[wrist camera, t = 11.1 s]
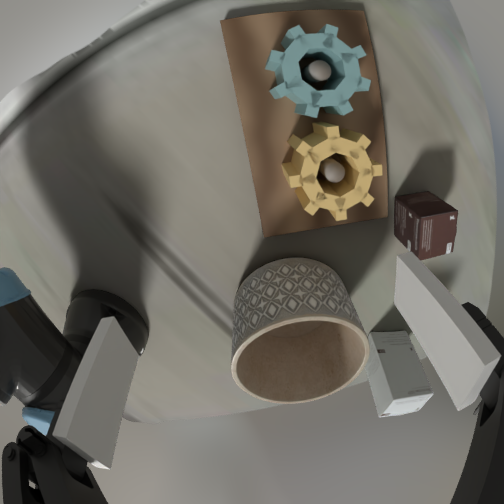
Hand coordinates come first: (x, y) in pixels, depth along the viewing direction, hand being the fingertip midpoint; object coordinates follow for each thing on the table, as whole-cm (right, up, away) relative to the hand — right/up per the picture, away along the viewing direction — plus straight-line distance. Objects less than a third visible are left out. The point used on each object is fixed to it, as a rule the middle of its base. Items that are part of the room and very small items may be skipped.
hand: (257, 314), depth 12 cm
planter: (+5, -4, +30) cm, 31 cm away
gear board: (+7, +18, +18) cm, 26 cm away
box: (+22, +8, +24) cm, 33 cm away
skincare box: (+24, -14, +36) cm, 45 cm away
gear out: (+8, +13, +18) cm, 24 cm away
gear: (+6, +21, +14) cm, 26 cm away
